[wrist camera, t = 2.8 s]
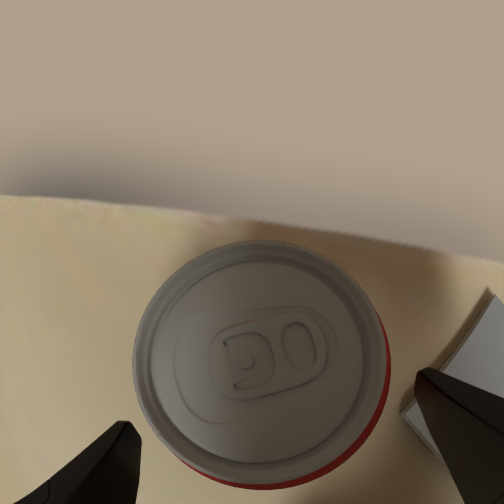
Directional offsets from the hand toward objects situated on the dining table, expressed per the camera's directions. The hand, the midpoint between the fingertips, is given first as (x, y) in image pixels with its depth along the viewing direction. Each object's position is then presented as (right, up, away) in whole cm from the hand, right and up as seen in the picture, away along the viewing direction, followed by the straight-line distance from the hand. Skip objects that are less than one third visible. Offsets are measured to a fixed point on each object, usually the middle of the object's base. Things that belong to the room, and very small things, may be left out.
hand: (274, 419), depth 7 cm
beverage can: (+1, -3, +9) cm, 9 cm away
